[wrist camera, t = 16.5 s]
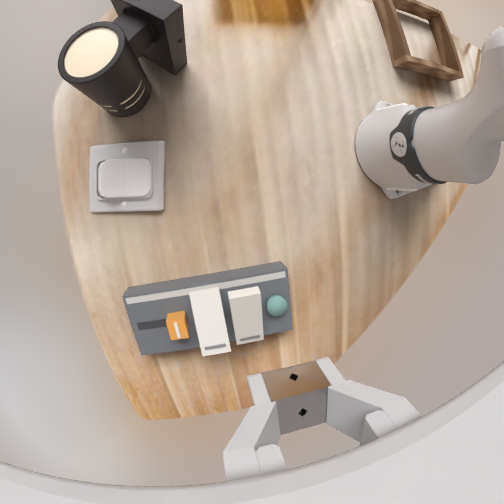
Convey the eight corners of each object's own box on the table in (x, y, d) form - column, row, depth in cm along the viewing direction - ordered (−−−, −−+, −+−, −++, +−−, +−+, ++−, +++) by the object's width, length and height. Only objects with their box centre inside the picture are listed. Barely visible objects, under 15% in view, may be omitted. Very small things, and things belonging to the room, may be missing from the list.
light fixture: (91, 100, 36) (41, 64, 19) (145, 38, 35) (124, -21, 18) (132, 128, 39) (93, 99, 22) (188, 64, 38) (184, 5, 21)
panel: (280, 261, 48) (289, 270, 43) (286, 319, 51) (294, 332, 46) (128, 287, 45) (120, 298, 40) (145, 343, 48) (140, 358, 43)
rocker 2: (258, 286, 41) (260, 293, 39) (261, 332, 46) (264, 340, 45) (227, 291, 40) (229, 299, 39) (235, 337, 46) (237, 345, 44)
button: (284, 292, 45) (286, 295, 44) (285, 310, 46) (288, 314, 45) (264, 296, 45) (266, 299, 44) (266, 314, 46) (268, 318, 44)
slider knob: (185, 310, 43) (184, 320, 40) (189, 328, 44) (189, 338, 41) (167, 313, 43) (165, 322, 40) (172, 330, 44) (171, 341, 41)
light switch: (82, 144, 36) (161, 137, 37) (93, 147, 40) (166, 141, 41) (82, 214, 38) (159, 212, 40) (92, 211, 42) (165, 209, 44)
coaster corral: (429, 18, 41) (441, 11, 36) (449, 81, 45) (463, 77, 41) (371, -2, 38) (383, -12, 33) (393, 66, 43) (407, 60, 38)
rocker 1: (218, 285, 43) (218, 287, 41) (230, 348, 43) (231, 351, 41) (189, 290, 42) (188, 292, 40) (202, 352, 42) (202, 356, 41)
